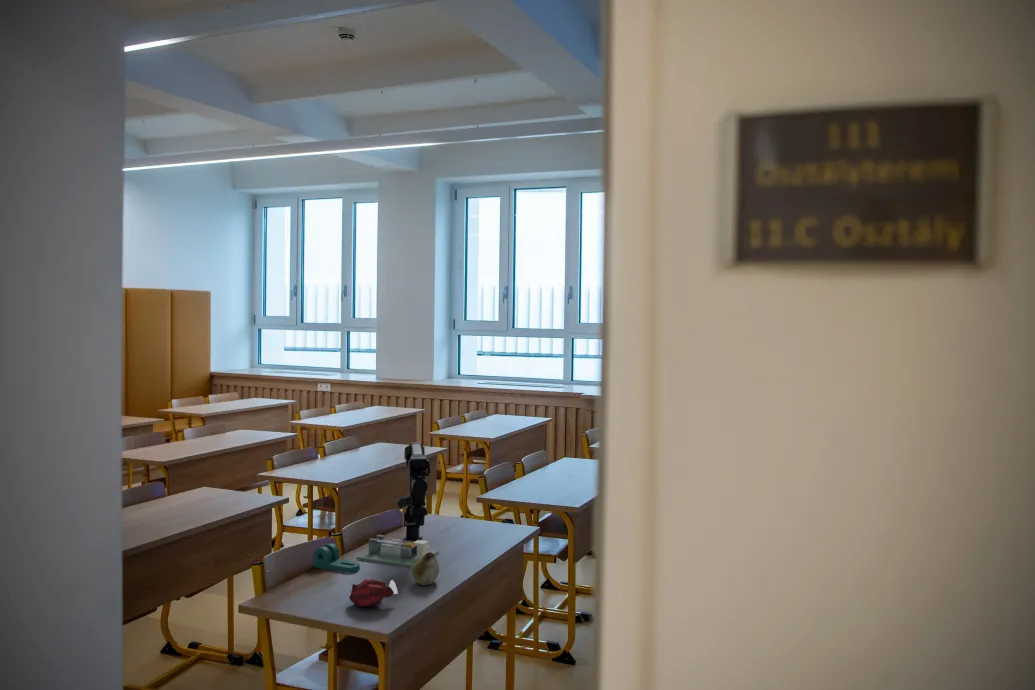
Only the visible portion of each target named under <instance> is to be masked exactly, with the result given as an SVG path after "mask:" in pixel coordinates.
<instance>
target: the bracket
mask: <svg viewBox="0 0 1035 690" xmlns="http://www.w3.org/2000/svg"><path fill="white" fill-rule="evenodd" d="M339 550H340V549H339V548H338V546H337V545H336V544H335V543H332V542H331V543H328V544H325V545H322V546H320V547H318V548H316V549H315V550H314V552H313V556H312V557H313V561H312V563H313V564H312V565H313V566H312V567H313V568H317V569H323V570H328V571H333V570H335V572H338V571H341V572H340V573H344V572H349V573H348V574H353V573H352V572H354V573H357V571H358V572H359V571H360V569H361V568H360V567H361V565H360V562H358V561H353V560H346V559H341V558H340V551H339ZM350 572H351V573H350Z"/></svg>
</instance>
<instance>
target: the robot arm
mask: <svg viewBox="0 0 1035 690" xmlns="http://www.w3.org/2000/svg"><path fill="white" fill-rule="evenodd" d="M425 452H426V451H425V446H423V443H422V442H420V441H417V442H416V441H415V442H413V441H411V442H409V445H407V446H406V447H404V456H403V457H404V458H403V459H404V460H405V463H406V465H407V467H408V476H409V477H408V485H409V486H408V495H404V496H401V497H399V498H396V500H395V501H396V505H397V507H398V509H399V510H401V509H403V508H404V511H405V512H403V514H402V526H403V527H404V528H405V537H403V538H402V540H404V541H411V542H414V541H417V540H419V539H420V540H421V538H422V539H423V538H424V537H423V536H420V527H423V526H424V525H425V516H428V508H427V507H426V504H427V503H426V495H427V491H428V486H429V485H428V483H427V480H426V479H427V478H426V477H429V476H430V474H431V463H430V462H429V459H428V458H427V456H426V453H425Z"/></svg>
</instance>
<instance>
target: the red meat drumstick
mask: <svg viewBox="0 0 1035 690" xmlns="http://www.w3.org/2000/svg"><path fill="white" fill-rule="evenodd" d="M386 584H387V582H386V581H382V580H379V579H378V580H377V579H374V578H371V579H366V578H365V579H363V581H360V583H358V584H355V583H352V585H351V588H352V589H351V592H350V595H349V596H348V598H349V601H350V602H352V603H353V604H354V606H355V607H356V606H360V607H369V606H372V607H374V606H375V607H376V606H378V605H379V604H380V603H381V602H382V601H383V600H384V599H385V598H386V599H387V598H389V597H392V596H393V595H398V593H399V592H398V588H397V585H396V582H395V581H394V579H392V580H390V582H389V584H388V586H387V585H386Z"/></svg>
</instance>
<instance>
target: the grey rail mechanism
mask: <svg viewBox="0 0 1035 690" xmlns="http://www.w3.org/2000/svg"><path fill="white" fill-rule="evenodd" d="M375 536H376V538H372V537H371V538H369V539H368V551H369V553H373V554H375V553H377V549H379V550H381V552H380V555H381V556H388V557H395V558H402V557H403V559H409V558H410V552H411V553H412V554H417V546H418V545H417V546H415V547H413V548H410V547H401V546H394V545H386V544H377V538H380V539H381V540H385V535H384V534H383V535H382V534H377V535H375ZM390 541H397V542H405V543H408V542H412V541H406V540H403V539H396V538H391V539H390ZM413 542H415V541H413Z"/></svg>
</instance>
